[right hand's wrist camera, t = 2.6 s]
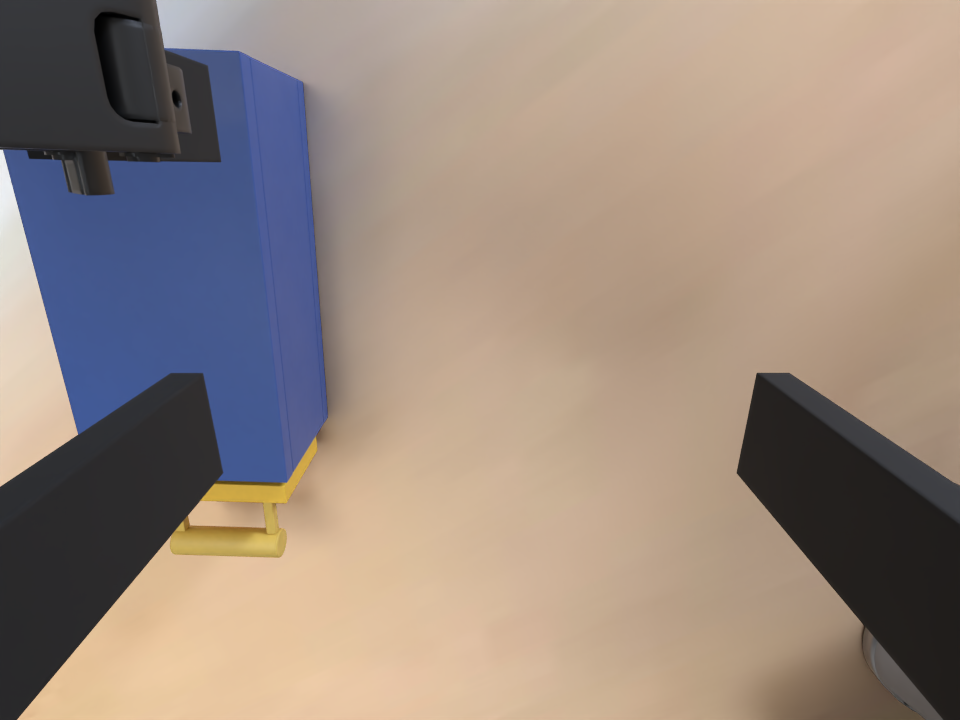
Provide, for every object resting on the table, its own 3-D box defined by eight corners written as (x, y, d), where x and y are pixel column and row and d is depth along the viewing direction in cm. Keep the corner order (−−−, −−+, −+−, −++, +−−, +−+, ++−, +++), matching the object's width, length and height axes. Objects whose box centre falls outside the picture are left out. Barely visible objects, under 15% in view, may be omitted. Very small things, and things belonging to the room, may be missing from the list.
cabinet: (328, 417, 36) (287, 483, 29) (171, 412, 36) (88, 477, 29) (303, 81, 29) (239, 50, 21) (107, 74, 29) (-27, 40, 21)
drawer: (323, 516, 38) (294, 578, 32) (189, 512, 38) (137, 573, 32) (291, 146, 29) (245, 140, 24) (118, 139, 29) (30, 132, 23)
